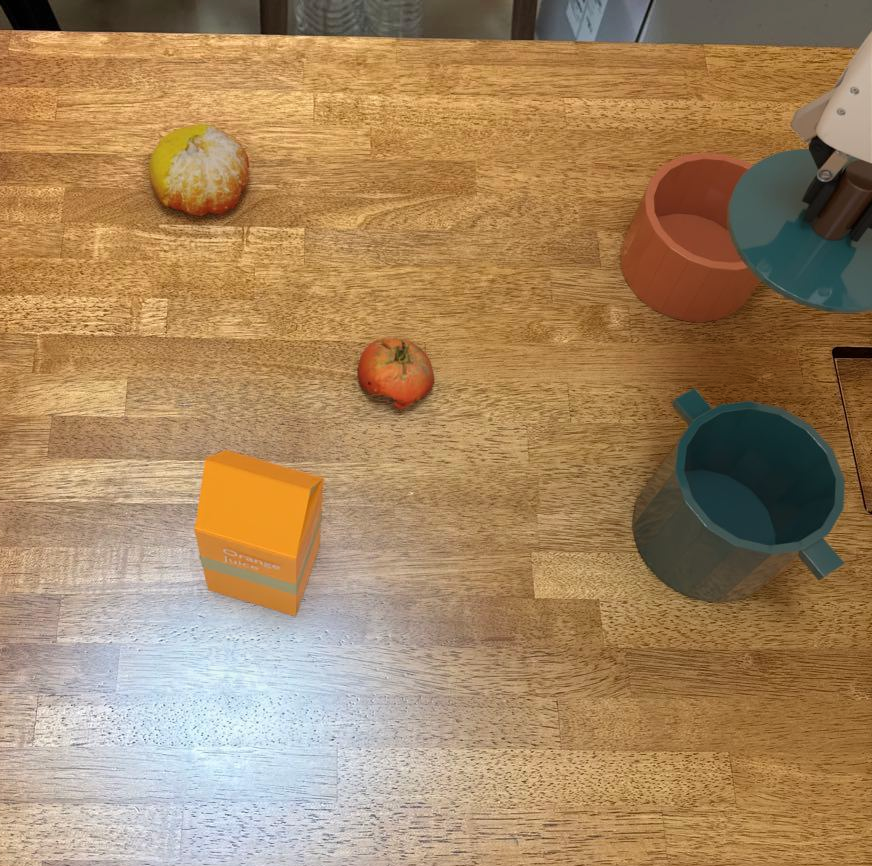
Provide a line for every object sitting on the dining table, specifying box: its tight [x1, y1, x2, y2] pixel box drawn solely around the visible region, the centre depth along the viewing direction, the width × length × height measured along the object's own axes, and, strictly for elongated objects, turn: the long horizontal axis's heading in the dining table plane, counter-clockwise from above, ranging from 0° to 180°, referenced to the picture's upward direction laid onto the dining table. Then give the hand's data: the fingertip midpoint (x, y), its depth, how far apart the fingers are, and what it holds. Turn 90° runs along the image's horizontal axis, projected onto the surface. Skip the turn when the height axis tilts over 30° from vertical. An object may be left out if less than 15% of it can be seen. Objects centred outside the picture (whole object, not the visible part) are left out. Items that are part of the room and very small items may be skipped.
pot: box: [632, 387, 846, 603], centre depth 94 cm, size 15×20×12 cm
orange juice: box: [193, 449, 324, 617], centre depth 88 cm, size 8×9×20 cm
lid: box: [727, 148, 872, 314], centre depth 77 cm, size 16×16×7 cm
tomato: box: [357, 337, 435, 410], centre depth 104 cm, size 8×7×7 cm
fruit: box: [147, 123, 250, 217], centre depth 112 cm, size 11×10×8 cm
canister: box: [619, 151, 762, 323], centre depth 108 cm, size 15×15×9 cm
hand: (835, 217), depth 79 cm, fingers closed on lid, 3 cm apart
